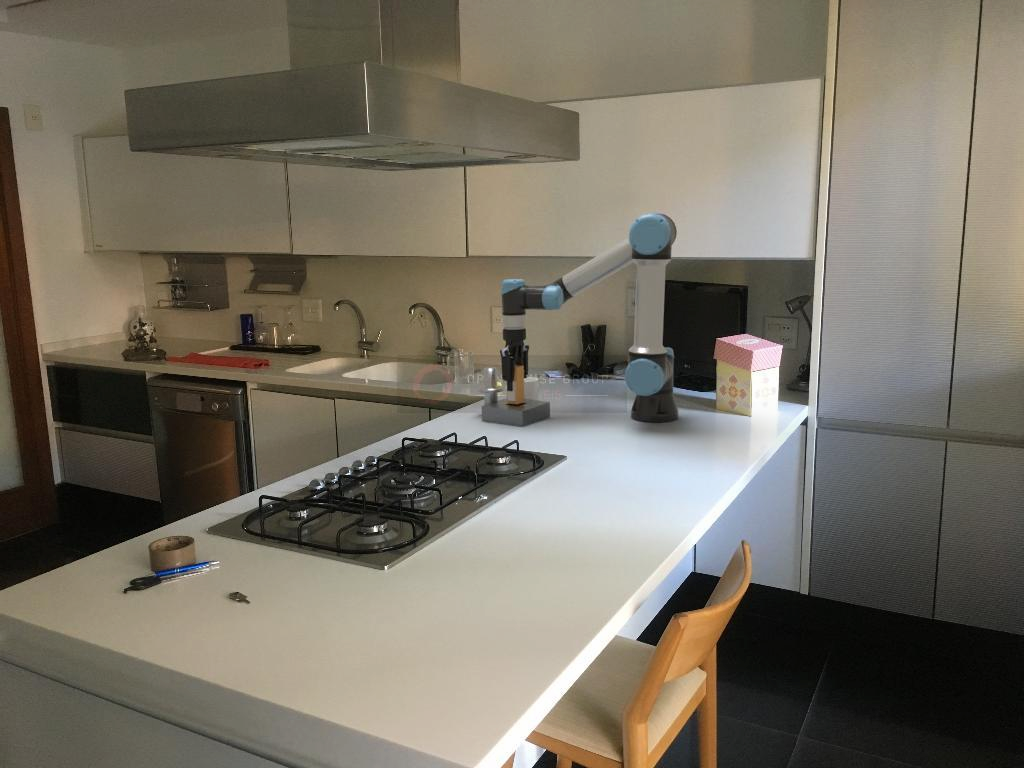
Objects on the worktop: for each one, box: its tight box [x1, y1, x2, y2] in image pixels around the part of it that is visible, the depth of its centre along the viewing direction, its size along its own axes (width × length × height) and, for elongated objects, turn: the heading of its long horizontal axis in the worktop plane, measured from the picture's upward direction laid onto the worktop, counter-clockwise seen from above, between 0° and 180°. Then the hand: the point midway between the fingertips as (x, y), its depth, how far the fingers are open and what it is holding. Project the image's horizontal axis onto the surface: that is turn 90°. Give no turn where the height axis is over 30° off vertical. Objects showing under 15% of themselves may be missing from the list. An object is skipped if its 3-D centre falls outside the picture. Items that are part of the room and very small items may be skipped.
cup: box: [504, 376, 540, 401], centre depth 288 cm, size 8×12×10 cm
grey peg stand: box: [477, 366, 551, 428], centre depth 273 cm, size 22×16×16 cm
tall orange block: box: [507, 365, 524, 404], centre depth 270 cm, size 4×4×12 cm
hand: (515, 399), depth 271 cm, fingers closed on tall orange block, 4 cm apart
